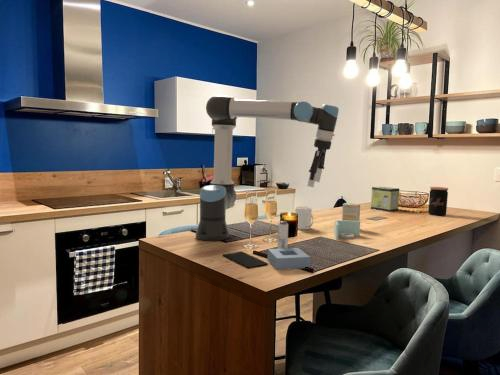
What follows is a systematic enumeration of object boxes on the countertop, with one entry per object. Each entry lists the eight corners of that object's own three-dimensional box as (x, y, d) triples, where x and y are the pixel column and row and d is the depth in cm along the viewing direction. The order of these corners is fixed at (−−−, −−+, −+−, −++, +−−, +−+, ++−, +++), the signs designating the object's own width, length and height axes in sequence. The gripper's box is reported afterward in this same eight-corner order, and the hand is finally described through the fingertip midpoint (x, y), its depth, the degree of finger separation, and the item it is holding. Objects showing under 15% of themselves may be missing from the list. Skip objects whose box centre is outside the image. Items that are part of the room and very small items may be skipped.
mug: (306, 231, 193) (306, 210, 192) (291, 227, 203) (291, 207, 202) (318, 230, 197) (319, 209, 196) (303, 225, 207) (304, 206, 206)
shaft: (278, 255, 150) (279, 222, 149) (275, 252, 154) (276, 220, 153) (288, 254, 151) (289, 222, 150) (285, 251, 155) (286, 220, 154)
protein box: (378, 207, 277) (380, 186, 276) (398, 210, 265) (400, 188, 264) (370, 208, 271) (371, 186, 269) (390, 212, 259) (391, 189, 257)
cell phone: (241, 253, 152) (241, 251, 152) (268, 265, 138) (268, 263, 137) (222, 256, 147) (222, 254, 147) (247, 270, 133) (248, 267, 132)
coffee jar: (425, 214, 253) (427, 187, 251) (432, 212, 260) (434, 186, 258) (442, 216, 245) (444, 189, 243) (448, 215, 252) (450, 188, 250)
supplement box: (359, 228, 203) (360, 204, 202) (356, 230, 199) (357, 205, 198) (344, 226, 208) (345, 202, 207) (341, 227, 204) (342, 203, 203)
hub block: (276, 269, 132) (277, 258, 132) (267, 259, 144) (267, 249, 144) (309, 267, 135) (309, 256, 135) (297, 258, 147) (298, 247, 146)
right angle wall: (336, 240, 178) (336, 224, 177) (334, 234, 190) (334, 219, 189) (362, 242, 176) (363, 226, 176) (359, 236, 188) (359, 221, 187)
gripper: (326, 143, 162) (315, 190, 168) (336, 139, 185) (326, 181, 190) (309, 139, 164) (299, 186, 170) (320, 136, 187) (311, 177, 193)
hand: (313, 184), depth 180 cm, fingers open, 13 cm apart
